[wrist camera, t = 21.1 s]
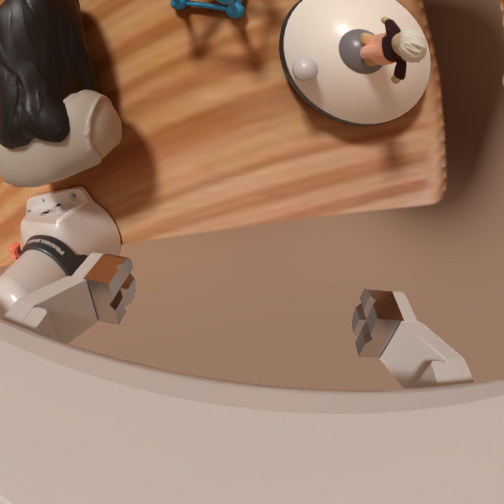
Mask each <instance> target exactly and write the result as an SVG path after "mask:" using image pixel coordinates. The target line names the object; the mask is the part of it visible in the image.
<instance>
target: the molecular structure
mask: <svg viewBox="0 0 504 504" xmlns="http://www.w3.org/2000/svg"><path fill="white" fill-rule="evenodd" d="M216 1H217V2H219V3H220V4H228V7H227V6H221V5H215V4H209V3H202V2H194V1H188V0H171V6H172V8H174V9H176V10H180V9H183V8H185V7H186V6H195V7H203V8H209V9H216V10H222V11H226V13H227V15H228V16H229V17H231V18H239V17H241V16H242V15H243V14H244V11H245V10H244V7H243V6H242V5H241V2H242V0H236V2H235V3H234V1H235V0H216Z"/></svg>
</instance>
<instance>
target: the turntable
mask: <svg viewBox="0 0 504 504" xmlns="http://www.w3.org/2000/svg"><path fill="white" fill-rule="evenodd" d="M384 16H386V17H388V18H389V19H392V20H393V21H394V22H395V23H396V24H397V25H398V27H399V28H400V29H401V30H402V29H412V30H415V31H417V32H419V33H420V34H421V35H422V36H423V37H424V39H425V36H424V34H423V32H422V30H421V28H420V26H419V25H418V23H417V22H416V20H415V19H414V18H413V17H412V15H411V14H410V13H409V12H408V11H407V10H406V9H405V8H404V7H403V6H402V5H400V4H399V3H398V2H397V1H395V0H303V1H302V2H301V3H299V4H298V6H297V7H296V8H295V10H294V11H293V12H292V14H291V16H290V18H289V20H288V23H287V26H286V29H285V35H284V56H285V61H286V64H287V67H288V70H289V72H290V75H291V77H292V78H293V80H294V82H295V84H296V85H297V86H298V88H299V89H300V90H301V92H302V93H303V94H304V95H305V96H306V97H307V98H308V99H309V100H310V101H311V102H312V103H314V104H315V105H316V106H318V107H319V108H321V109H322V110H324V111H325V112H327V113H329V114H331V115H333V116H335V117H337V118H340V119H342V120H346V121H350V122H353V123H361V124H376V123H383V122H387V121H390V120H393V119H395V118H398V117H400V116H401V115H403V114H405V113H406V112H407V111H409V110H410V109H411V108H412V107H413V106H414V105H415V104H416V103H417V102H418V101H419V99H420V98H421V96H422V95H423V93H424V91H425V89H426V86H427V83H428V80H429V75H430V64H431V63H430V53H429V48H428V44H427V41H426V39H425V42H426V45H427V54H426V56H425V57H424V58H423V59H422V60H421V61H420V62H419V63H417V62H414V63H410V62H407V61H406V62H407V68H406V76H405V79H404V80H401V81H400V82H399V83H398V84H394V83H393V82H392V81H391V77H392V76H393V74H394V69H395V66H396V64H397V63H396V62H395V63H393V64H390V65H376V66H368V65H367V64H366V63H365V61H364V59H363V58H361V56H360V50H361V48H362V47H364V46H363V45H362V44H361V43H360V35H361V34H362V33H369V34H372V35H376V34H381V33H386V29H385V25H384V24H383V23H382V22H381V18H382V17H384Z"/></svg>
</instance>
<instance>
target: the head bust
mask: <svg viewBox="0 0 504 504" xmlns="http://www.w3.org/2000/svg"><path fill="white" fill-rule="evenodd" d="M121 135H122V124H121V120H120V117H119V115H118V113H117V112H116V110H115V109H114V107H113V105H112V103H111V101H110V99H109V98H108V97H106V96H104V95H102V94H100V92H99V85H98V80H97V77H96V71H95V67H94V63H93V60H92V56H91V54H90V52H89V49H88V45H87V42H86V38H85V33H84V28H83V23H82V17H81V12H80V4H79V1H78V0H5V1H4V2H3V3H2V4H1V5H0V175H1V177H2V178H3V180H4V181H5V182H6V183H8V184H11V185H13V186H15V187H38V186H43V185H46V184H50V183H53V182H56V181H59V180H63V179H66V178H68V177H70V176H73V175H75V174H77V173H79V172H82V171H84V170H86V169H89V168H91V167H94V166H96V165H97V164H100V163H101V161H102V159H103V158H104V157H105V156H106V155H107V154H108V153H109V152H110V151H111V150H112V149H113V148H114V147H116V146H117V145H119V143H120V141H121Z"/></svg>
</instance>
